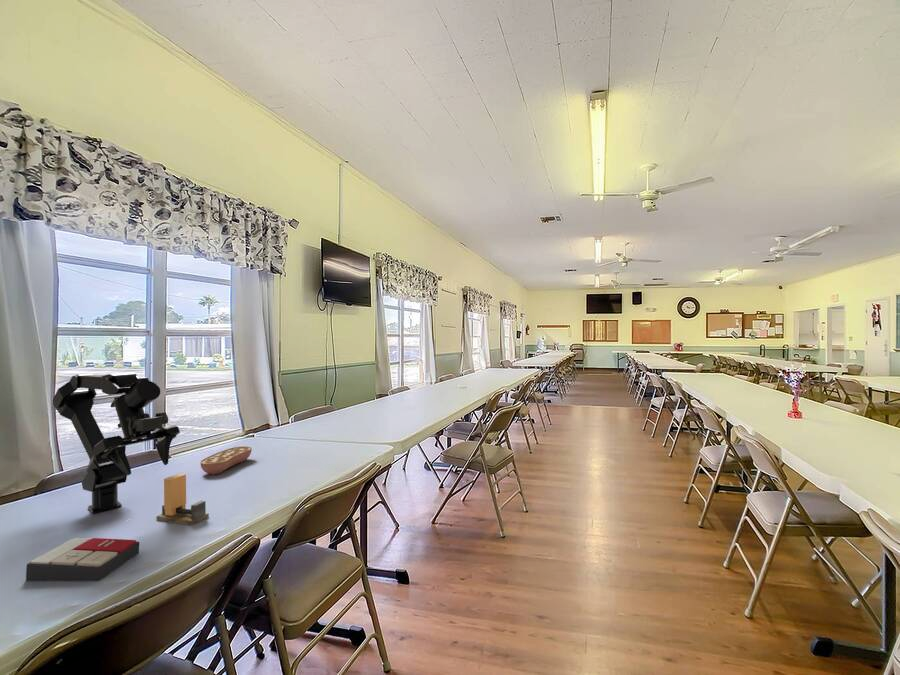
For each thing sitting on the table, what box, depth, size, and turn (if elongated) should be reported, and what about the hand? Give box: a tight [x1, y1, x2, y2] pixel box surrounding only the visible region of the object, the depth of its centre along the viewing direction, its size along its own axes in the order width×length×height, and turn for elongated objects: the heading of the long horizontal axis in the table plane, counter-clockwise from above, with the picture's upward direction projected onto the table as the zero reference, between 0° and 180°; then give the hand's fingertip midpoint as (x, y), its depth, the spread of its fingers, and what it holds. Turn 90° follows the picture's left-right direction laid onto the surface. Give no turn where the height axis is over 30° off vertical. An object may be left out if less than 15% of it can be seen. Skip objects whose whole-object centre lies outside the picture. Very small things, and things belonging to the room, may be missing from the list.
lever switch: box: [156, 500, 210, 526], centre depth 113 cm, size 12×5×5 cm, turn 74°
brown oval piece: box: [199, 446, 252, 475], centre depth 157 cm, size 23×10×5 cm, turn 174°
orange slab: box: [163, 473, 187, 516], centre depth 114 cm, size 2×4×10 cm, turn 164°
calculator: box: [25, 537, 140, 582], centre depth 90 cm, size 11×4×15 cm
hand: (148, 469), depth 112 cm, fingers open, 9 cm apart
